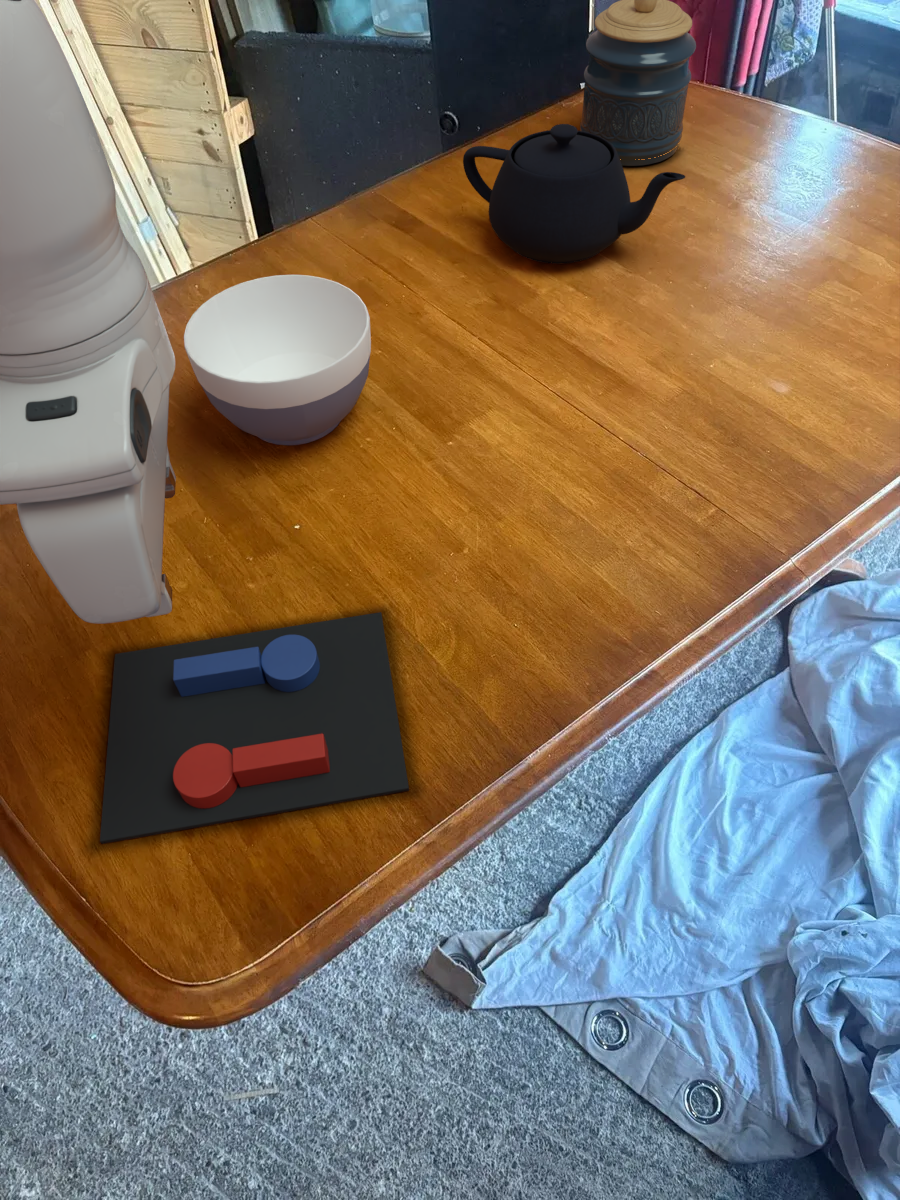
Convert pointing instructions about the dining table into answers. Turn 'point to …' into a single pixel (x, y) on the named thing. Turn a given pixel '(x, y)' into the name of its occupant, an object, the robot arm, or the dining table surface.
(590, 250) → the teapot
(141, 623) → the dining table surface
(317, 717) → the mat
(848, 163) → the dining table surface
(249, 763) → the red spoon
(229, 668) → the blue spoon
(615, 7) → the canister
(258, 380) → the bowl
